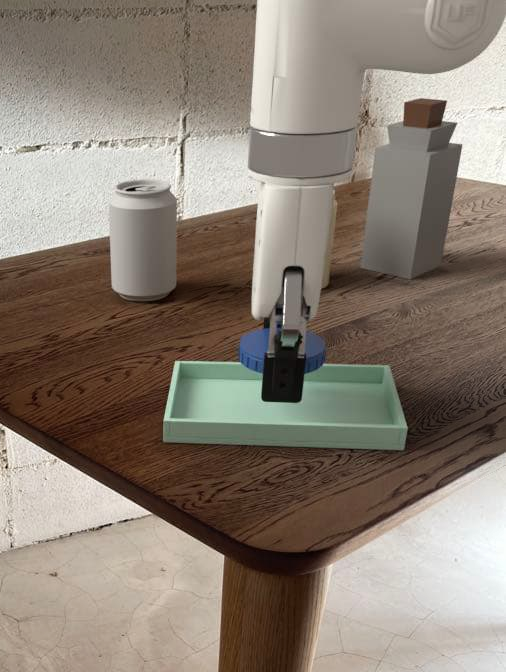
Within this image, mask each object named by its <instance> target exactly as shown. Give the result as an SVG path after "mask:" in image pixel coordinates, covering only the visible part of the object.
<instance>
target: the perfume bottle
mask: <svg viewBox="0 0 506 672" xmlns="http://www.w3.org/2000/svg"><path fill="white" fill-rule="evenodd" d="M447 103H448V100H446V99H445V100H444V99H434V98H423V97H419V98H416V99H412V100H408V101H404V102H403V118H402V119H403V120H401V121H398V122H394V123H391V124H387V125H386V126H387V127H386V128H387V135H388V142H389V143H386V144H382V145H379V146H377V147H375V148H374V155H373V163H372V164H373V165H372V173H371V179H370V188H369V195H368V203H367V204H368V205H367V212H366V220H365V228H364V235H363V244H362V251H361V259H360V266H359V269H364V270H368V271H372V272H376V273H380V274H385V275H389V276H393V277H396V278H397V277H398V278H402V279H406V280H413V279H415V278H417V277H419V276H421V275H424V274H426V273H427V272H430V271H432V270H434V269H437V268H439V267H441V266H442V262H443V257H444V250H445V245H446V239H447V233H448V228H449V222H450V216H451V211H452V205H453V200H454V194H455V190H456V183H457V177H458V174H459V173H458V172H459V167H460V161H461V155H462V150H463V144H462V143H454V142H450V141H451V139H452V137H453V134H454V132H455V130H456V128H457V125H458V122H457V121H456V122H455V121H446V120H443V119H444V116H445V115H444V114H445V111H446V108H447Z"/></svg>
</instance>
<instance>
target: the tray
mask: <svg viewBox="0 0 506 672" xmlns="http://www.w3.org/2000/svg"><path fill="white" fill-rule="evenodd" d="M262 378H263V374H262V373H259V372H255V371H252V370H250V369H248V368H246V367H245V366H244V365H243V364H241V362H240V361H202V360H201V361H199V360H175V361H174V365H173V371H172V376H171V381H170V385H169V390H168V396H167V401H166V406H165V411H164V417H163V443H173V444H199V445H200V444H204V445H231V446H232V445H233V446H261V447H263V446H264V447H290V448H294V447H295V448H321V449H349V450H350V449H351V450H356V449H357V450H380V451H381V450H382V451H404V450H405V447H406V441H407V434H408V430H409V427H408V425H407V421H406V418H405V413H404V410H403V407H402V404H401V400H400V397H399V394H398V390H397V387H396V383H395V380H394V376H393V372H392V370H391V367H390V365H389V364H352V363H350V364H349V363H347V364H345V363H344V364H343V363H323V366H321V367H320V368H319V369H318V370H315V371H313V372H310V373H307V374H304V384H303V393H302V400H301V401H300V402H299V403H281V402H264V401H262V399H261V390H262Z"/></svg>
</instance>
